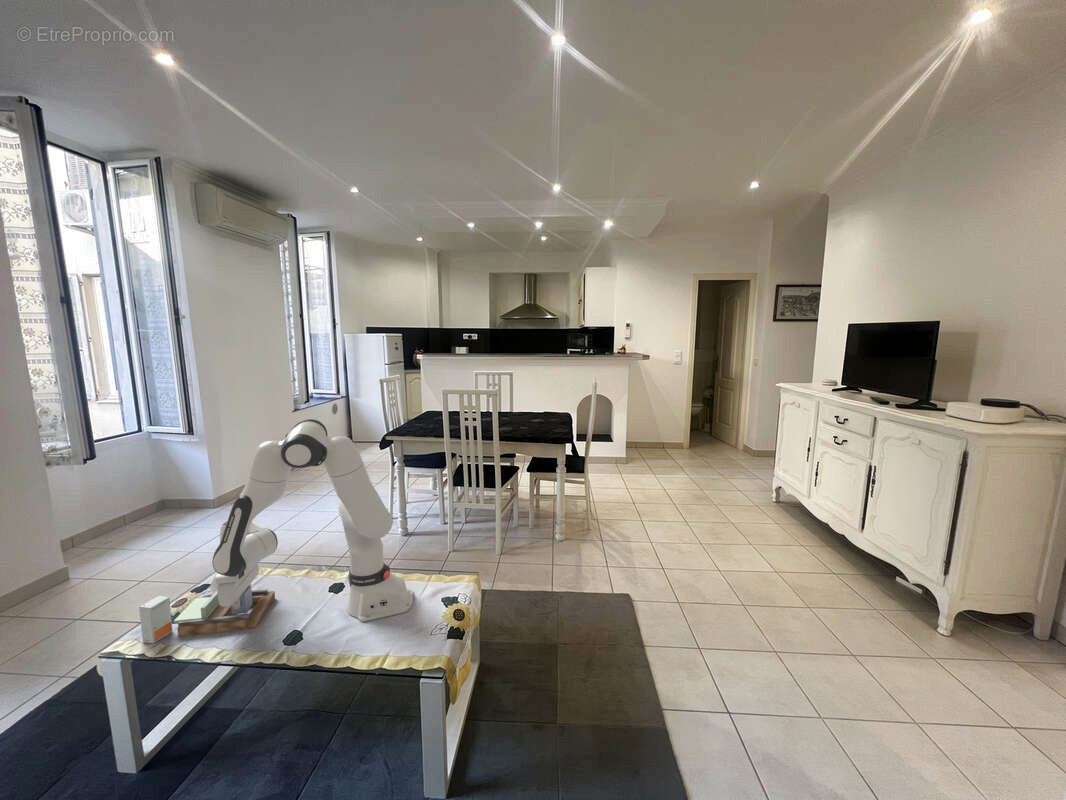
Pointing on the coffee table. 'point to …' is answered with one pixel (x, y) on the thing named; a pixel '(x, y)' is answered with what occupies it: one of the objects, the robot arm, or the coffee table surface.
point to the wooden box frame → (229, 617)
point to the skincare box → (155, 619)
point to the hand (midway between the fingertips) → (242, 602)
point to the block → (244, 602)
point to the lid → (199, 608)
